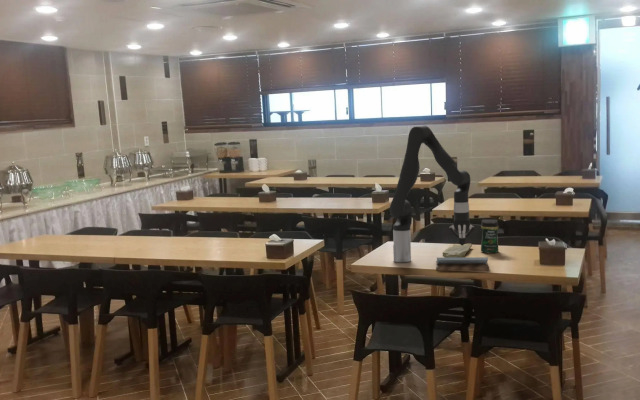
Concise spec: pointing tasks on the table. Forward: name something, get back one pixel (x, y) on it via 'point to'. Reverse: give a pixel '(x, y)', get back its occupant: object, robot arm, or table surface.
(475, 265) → the floor board
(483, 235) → the coffee jar
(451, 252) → the stone slab
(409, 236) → the robot arm
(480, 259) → the tilted plank
